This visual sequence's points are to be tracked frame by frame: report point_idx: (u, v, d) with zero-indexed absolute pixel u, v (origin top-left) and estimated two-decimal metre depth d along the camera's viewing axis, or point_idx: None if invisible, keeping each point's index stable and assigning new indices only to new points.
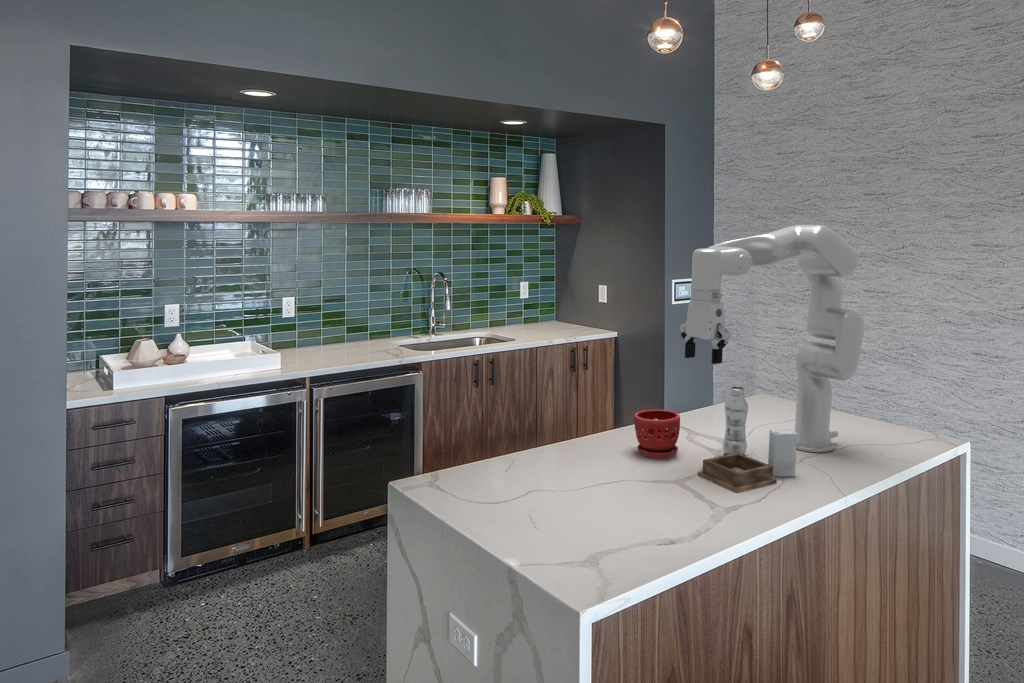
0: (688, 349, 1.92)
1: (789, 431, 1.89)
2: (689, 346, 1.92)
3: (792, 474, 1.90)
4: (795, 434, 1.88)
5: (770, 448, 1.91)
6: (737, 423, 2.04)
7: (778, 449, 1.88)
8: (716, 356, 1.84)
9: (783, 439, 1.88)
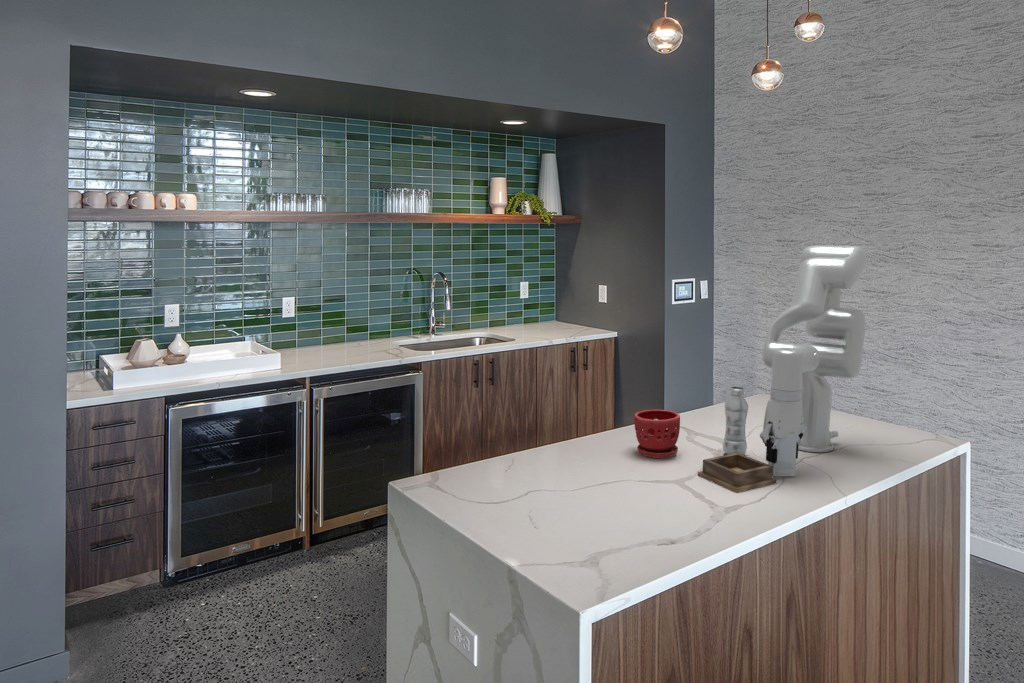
0: None
1: None
2: None
3: (792, 474, 1.90)
4: (795, 434, 1.88)
5: None
6: (737, 423, 2.04)
7: (778, 449, 1.88)
8: None
9: (783, 439, 1.88)
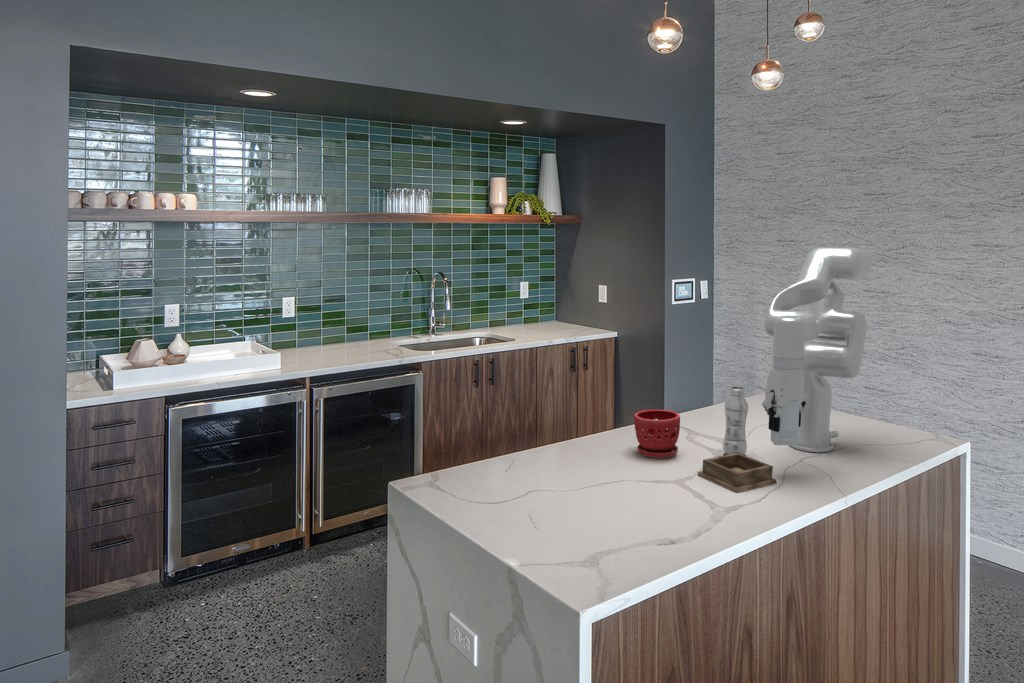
0: None
1: None
2: None
3: (795, 442, 1.89)
4: (797, 402, 1.86)
5: None
6: (737, 423, 2.04)
7: (781, 417, 1.87)
8: (799, 419, 1.91)
9: (786, 407, 1.87)
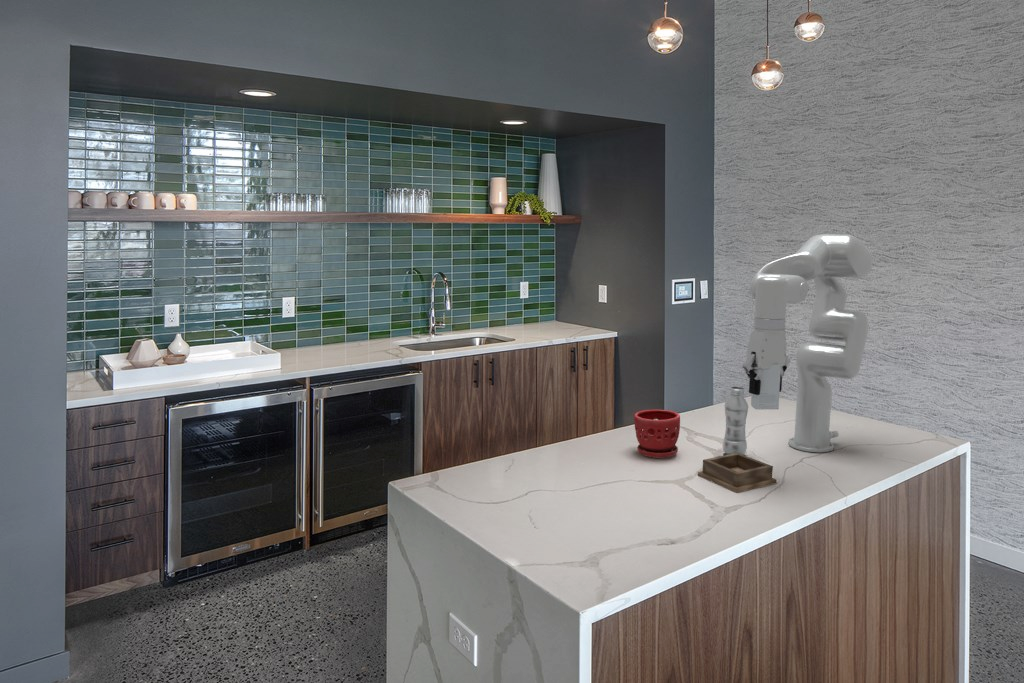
0: None
1: None
2: None
3: (776, 407, 1.85)
4: (779, 365, 1.83)
5: None
6: (737, 423, 2.04)
7: (761, 380, 1.83)
8: (780, 383, 1.87)
9: (767, 370, 1.83)
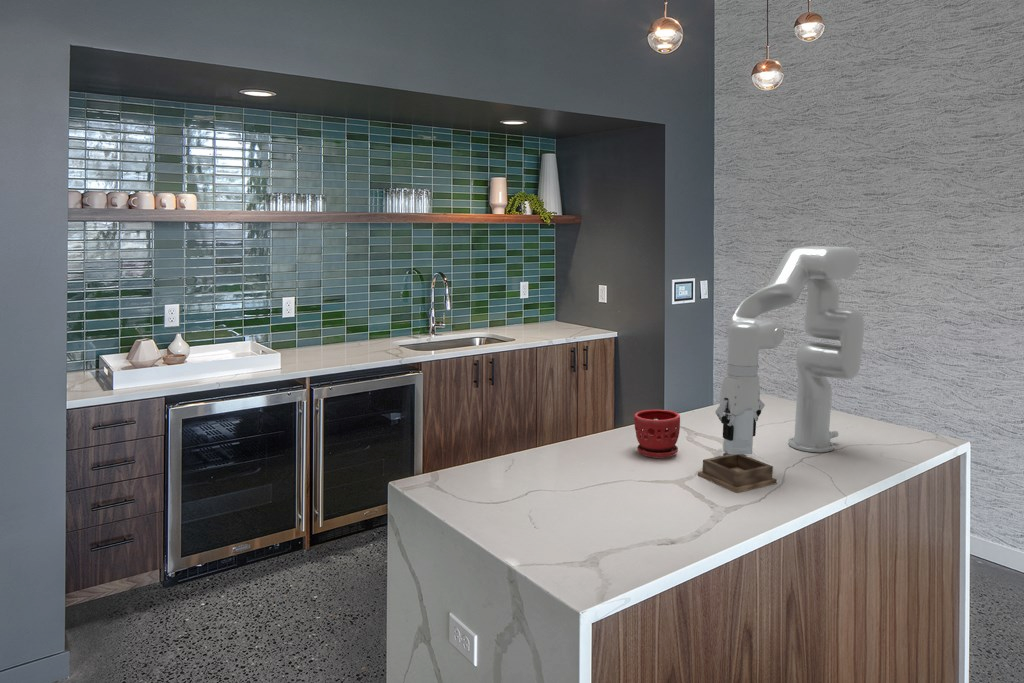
0: None
1: None
2: None
3: (749, 452, 1.85)
4: (752, 411, 1.83)
5: None
6: None
7: (735, 426, 1.84)
8: None
9: (740, 415, 1.83)
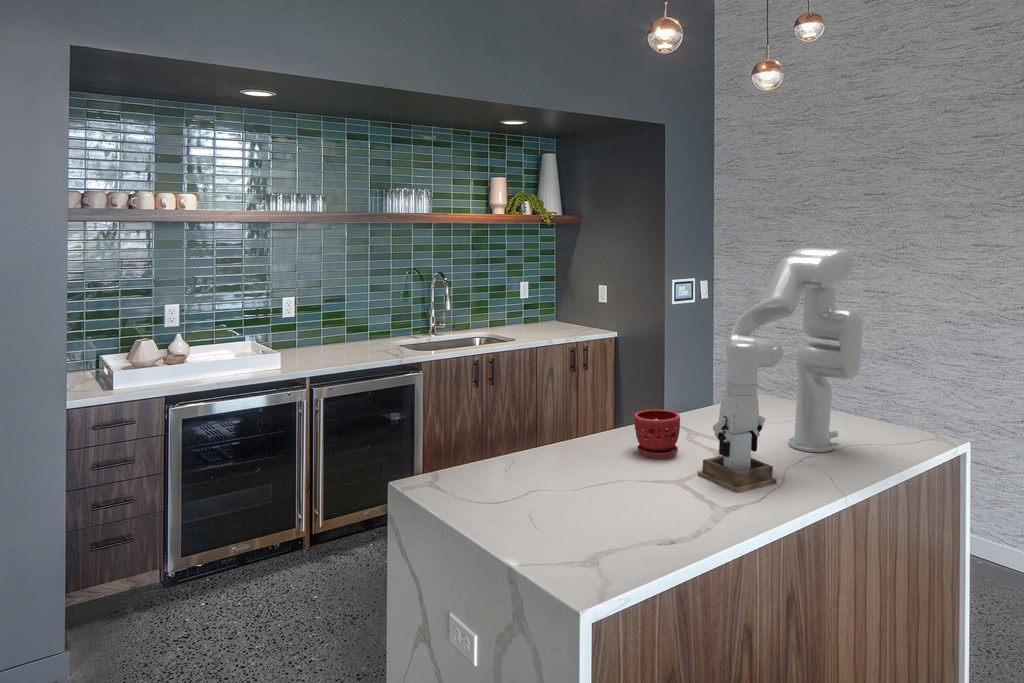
0: None
1: None
2: None
3: None
4: (750, 434, 1.84)
5: None
6: None
7: (733, 450, 1.85)
8: None
9: (738, 439, 1.84)
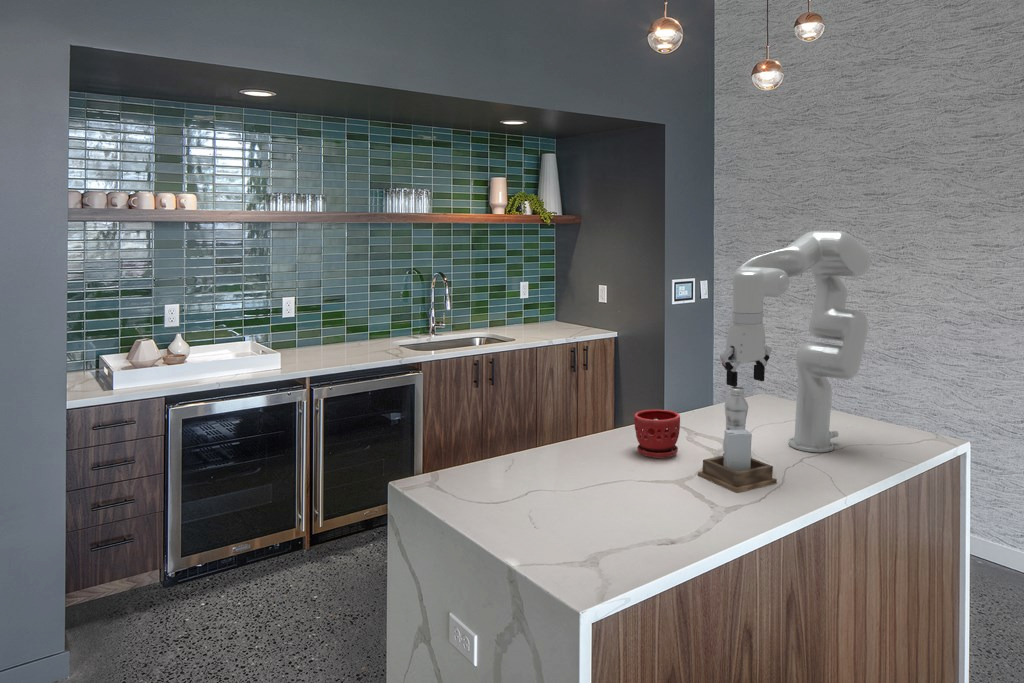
0: None
1: (744, 431, 1.86)
2: None
3: None
4: (750, 434, 1.84)
5: (725, 449, 1.88)
6: (737, 423, 2.04)
7: (733, 450, 1.85)
8: None
9: (738, 439, 1.84)
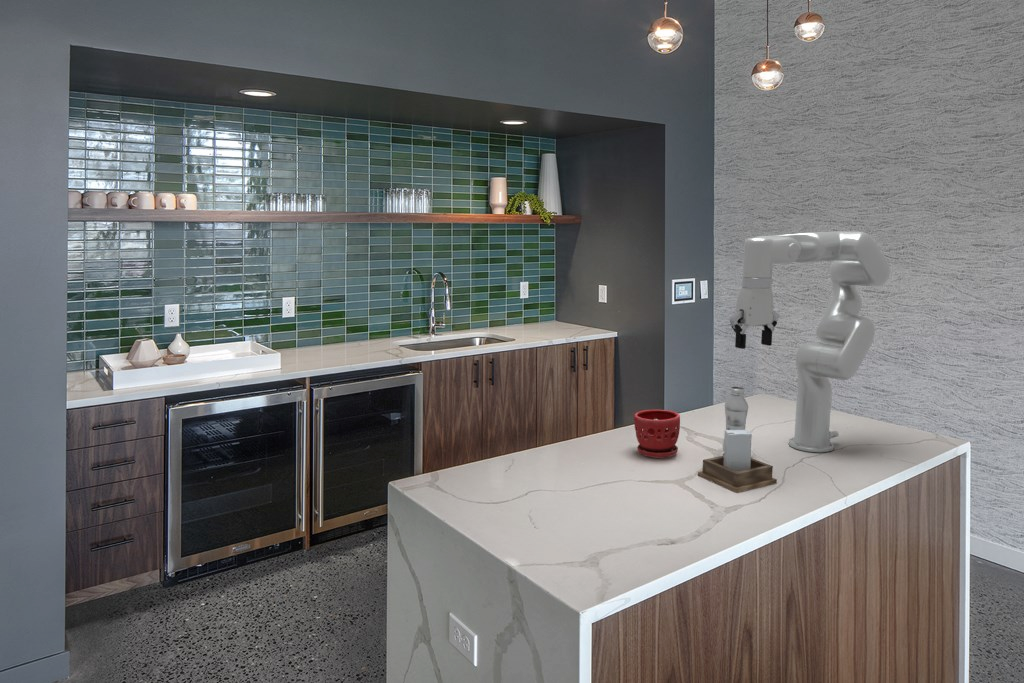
0: None
1: (744, 431, 1.86)
2: None
3: None
4: (750, 434, 1.84)
5: (725, 449, 1.88)
6: (737, 423, 2.04)
7: (733, 450, 1.85)
8: None
9: (738, 439, 1.84)
